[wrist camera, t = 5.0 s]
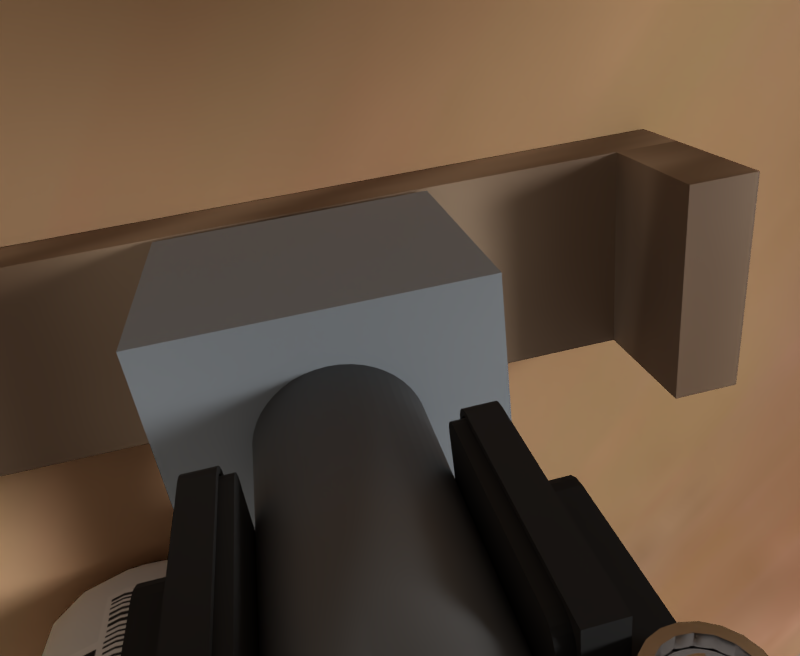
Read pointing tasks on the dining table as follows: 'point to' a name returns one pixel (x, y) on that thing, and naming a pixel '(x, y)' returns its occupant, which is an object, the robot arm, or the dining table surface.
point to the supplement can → (100, 616)
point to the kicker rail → (486, 226)
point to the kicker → (335, 416)
